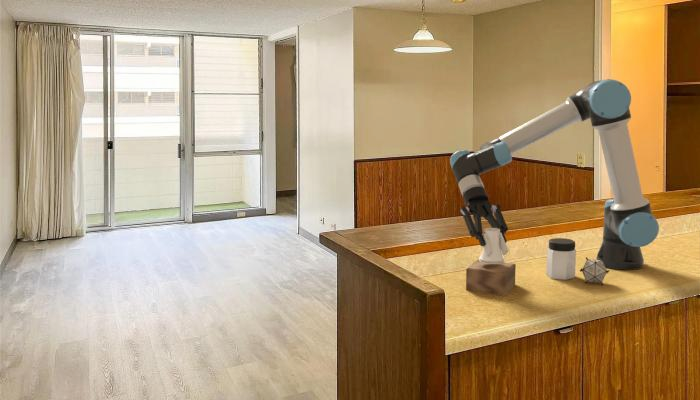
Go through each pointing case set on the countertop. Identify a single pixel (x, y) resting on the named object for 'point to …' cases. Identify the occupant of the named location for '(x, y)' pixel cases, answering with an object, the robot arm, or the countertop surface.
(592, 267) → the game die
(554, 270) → the jar
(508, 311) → the countertop surface
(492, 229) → the salt shaker
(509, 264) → the walnut box
